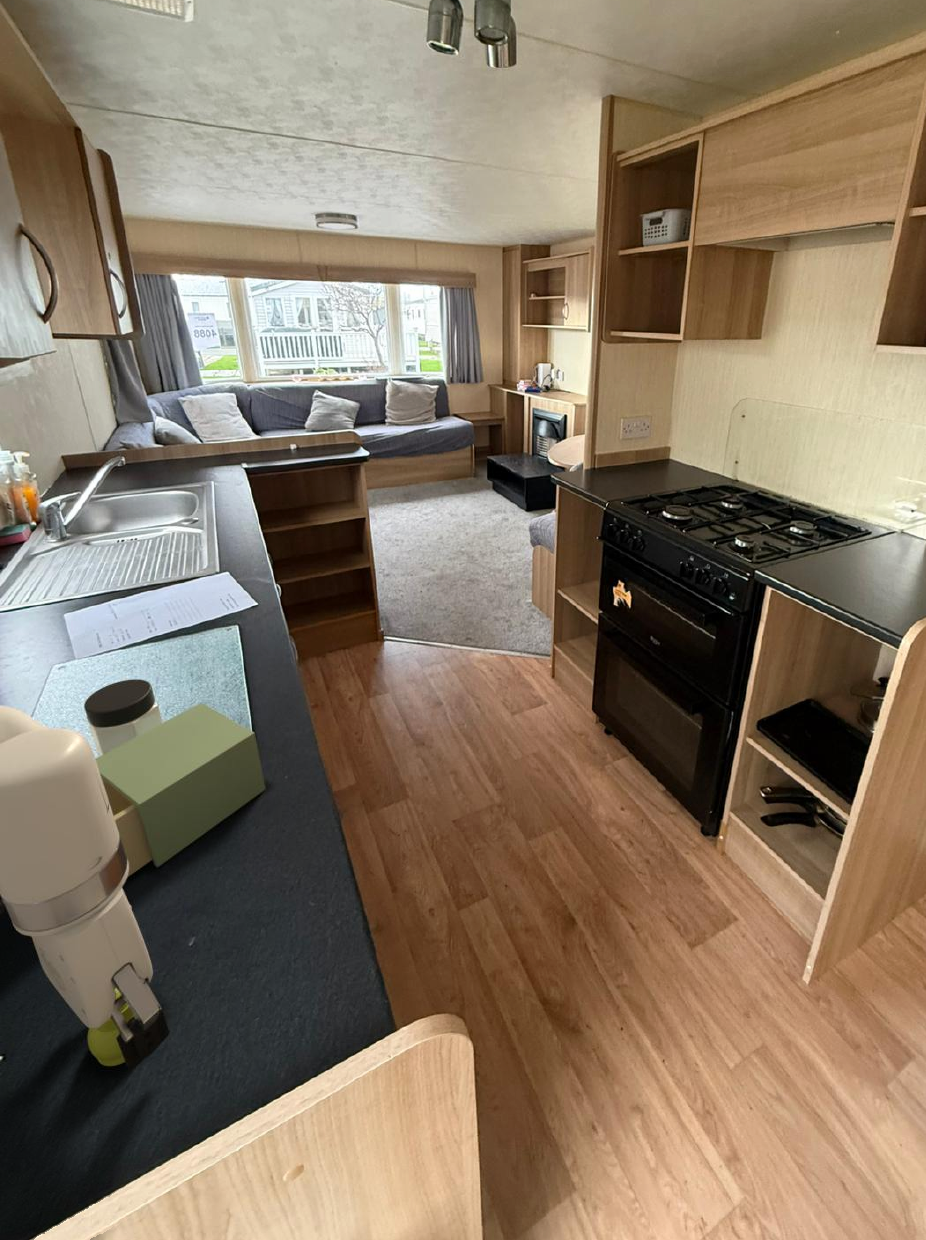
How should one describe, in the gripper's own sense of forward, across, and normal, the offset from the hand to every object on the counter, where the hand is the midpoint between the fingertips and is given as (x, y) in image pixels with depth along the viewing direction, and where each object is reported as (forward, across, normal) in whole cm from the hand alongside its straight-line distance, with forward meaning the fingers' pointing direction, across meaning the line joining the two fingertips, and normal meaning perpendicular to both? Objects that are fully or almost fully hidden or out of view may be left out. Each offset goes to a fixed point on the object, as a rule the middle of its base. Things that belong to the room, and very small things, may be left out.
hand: (120, 1017), depth 51 cm
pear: (+4, 0, 0) cm, 4 cm away
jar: (+4, -38, +19) cm, 43 cm away
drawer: (+3, -22, +6) cm, 23 cm away
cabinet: (+3, -22, +18) cm, 29 cm away
